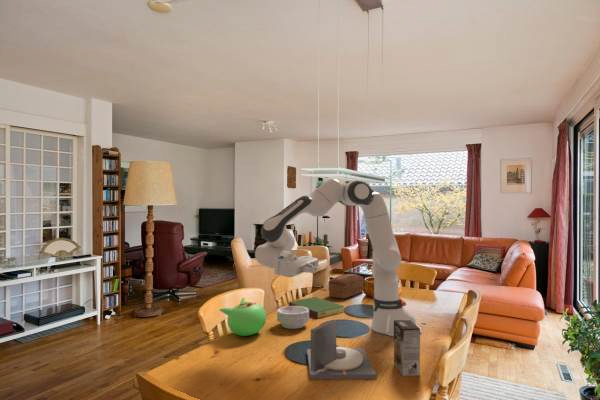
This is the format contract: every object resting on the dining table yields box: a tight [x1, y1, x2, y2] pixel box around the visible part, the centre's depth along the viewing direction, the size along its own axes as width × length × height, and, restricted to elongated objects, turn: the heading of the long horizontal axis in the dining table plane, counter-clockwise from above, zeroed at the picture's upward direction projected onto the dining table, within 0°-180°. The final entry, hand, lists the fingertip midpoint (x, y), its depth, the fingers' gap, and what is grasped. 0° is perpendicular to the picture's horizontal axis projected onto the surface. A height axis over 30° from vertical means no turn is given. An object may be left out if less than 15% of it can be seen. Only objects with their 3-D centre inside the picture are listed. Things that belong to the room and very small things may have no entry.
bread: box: [328, 273, 365, 300], centre depth 239 cm, size 14×28×12 cm, turn 142°
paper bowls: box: [276, 305, 310, 330], centre depth 178 cm, size 15×15×8 cm
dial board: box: [306, 347, 377, 381], centre depth 135 cm, size 22×22×2 cm
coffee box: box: [393, 320, 421, 377], centre depth 131 cm, size 9×6×16 cm
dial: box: [310, 319, 363, 372], centre depth 133 cm, size 24×17×15 cm
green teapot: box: [219, 297, 267, 337], centre depth 167 cm, size 18×17×15 cm
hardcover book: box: [288, 296, 344, 319], centre depth 204 cm, size 25×19×4 cm
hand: (315, 270), depth 148 cm, fingers closed
